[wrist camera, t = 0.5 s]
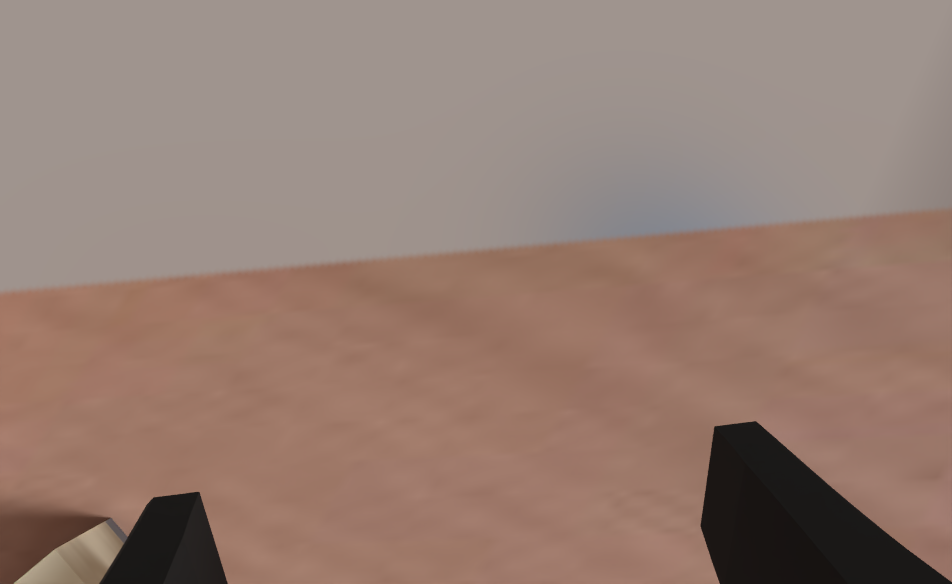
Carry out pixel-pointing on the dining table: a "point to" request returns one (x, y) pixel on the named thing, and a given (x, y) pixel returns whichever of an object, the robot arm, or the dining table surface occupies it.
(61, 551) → the sleeve block
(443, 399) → the dining table surface
